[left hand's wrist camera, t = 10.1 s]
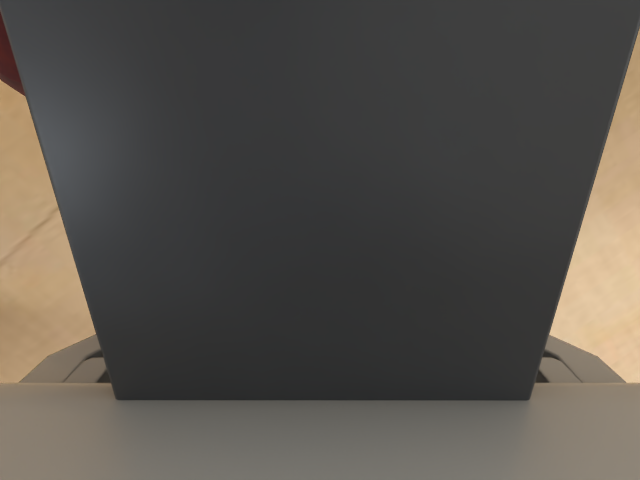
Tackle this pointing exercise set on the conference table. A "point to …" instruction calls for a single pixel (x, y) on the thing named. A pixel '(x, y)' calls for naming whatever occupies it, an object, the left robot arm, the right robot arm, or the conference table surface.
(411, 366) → the box
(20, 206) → the conference table surface
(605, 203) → the conference table surface
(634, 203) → the conference table surface
